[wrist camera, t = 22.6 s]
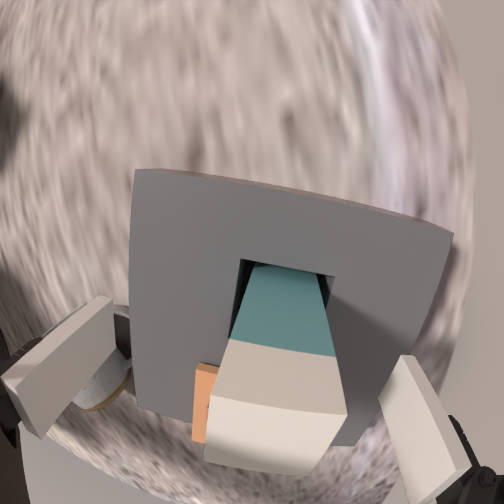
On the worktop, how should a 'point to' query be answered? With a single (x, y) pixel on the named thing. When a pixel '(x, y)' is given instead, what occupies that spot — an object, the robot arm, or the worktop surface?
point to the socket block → (276, 253)
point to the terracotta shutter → (202, 399)
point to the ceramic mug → (102, 372)
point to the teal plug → (276, 379)
